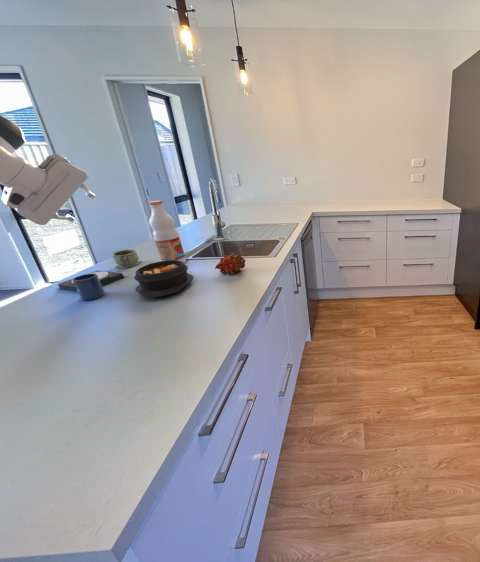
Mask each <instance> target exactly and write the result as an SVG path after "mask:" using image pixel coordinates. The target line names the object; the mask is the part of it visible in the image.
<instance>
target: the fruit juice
mask: <svg viewBox="0 0 480 562" xmlns="http://www.w3.org/2000/svg"><path fill="white" fill-rule="evenodd" d="M148 206H149V207H150V209H151V213H150V217H149V219H148V224H149V226H150V228H151V229H152V237H153V240H154V242H155V243H154V244H155V246H156V249H157V253H158V255H159V258H160V261H168V260H179V261H182V262H183V263H184V264H185V263H186V261H187V257H186V255H185V252H184V248H183V245H182V241H181V238H180V234H179V232H178V230H177V228H176V227H175V220H174V218H173V217H172V216H171V215H170V214H168V212H167V211H166V209H165V208H164V202H163V200H150V201H148Z"/></svg>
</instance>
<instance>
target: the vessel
mask: <svg viewBox="0 0 480 562" xmlns="http://www.w3.org/2000/svg"><path fill="white" fill-rule="evenodd" d="M111 256H112V258H113V261H114V263H115V264H116V265H118V267H117V268H121V269H122V268H123V269H125V268H131V267H134V266H137V265H138V264H140V262H139V260H140V257H139V256H138V253H137V250H136V249H133V248H132V249H131V248H128V249H121V250H118V251H117V250H116V251H114V252H113V253H112V254H111Z"/></svg>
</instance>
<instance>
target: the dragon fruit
mask: <svg viewBox="0 0 480 562" xmlns="http://www.w3.org/2000/svg"><path fill="white" fill-rule="evenodd" d="M245 267H246V259H245V258H244V257H243V256H241V255H238V254H235V253H231V254H230V255H227V254H226V255H224V256H223V257H221V258H220V260H219V262H218V263H217V264H216V265H215V267H214V270H219V273H220V274H221V273H222V274H230V273H231V275H234V274H235V273H239V272H241V269H244V268H245Z"/></svg>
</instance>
